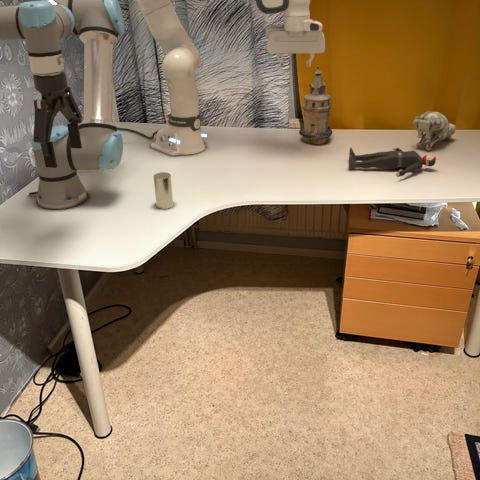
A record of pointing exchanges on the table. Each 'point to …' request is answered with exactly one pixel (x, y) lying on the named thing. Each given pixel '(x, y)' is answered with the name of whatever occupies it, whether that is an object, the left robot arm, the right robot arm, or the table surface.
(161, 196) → the canister
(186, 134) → the right robot arm
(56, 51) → the left robot arm
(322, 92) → the miniature building
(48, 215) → the table surface
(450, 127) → the figurine
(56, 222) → the table surface
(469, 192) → the table surface
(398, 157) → the toy
